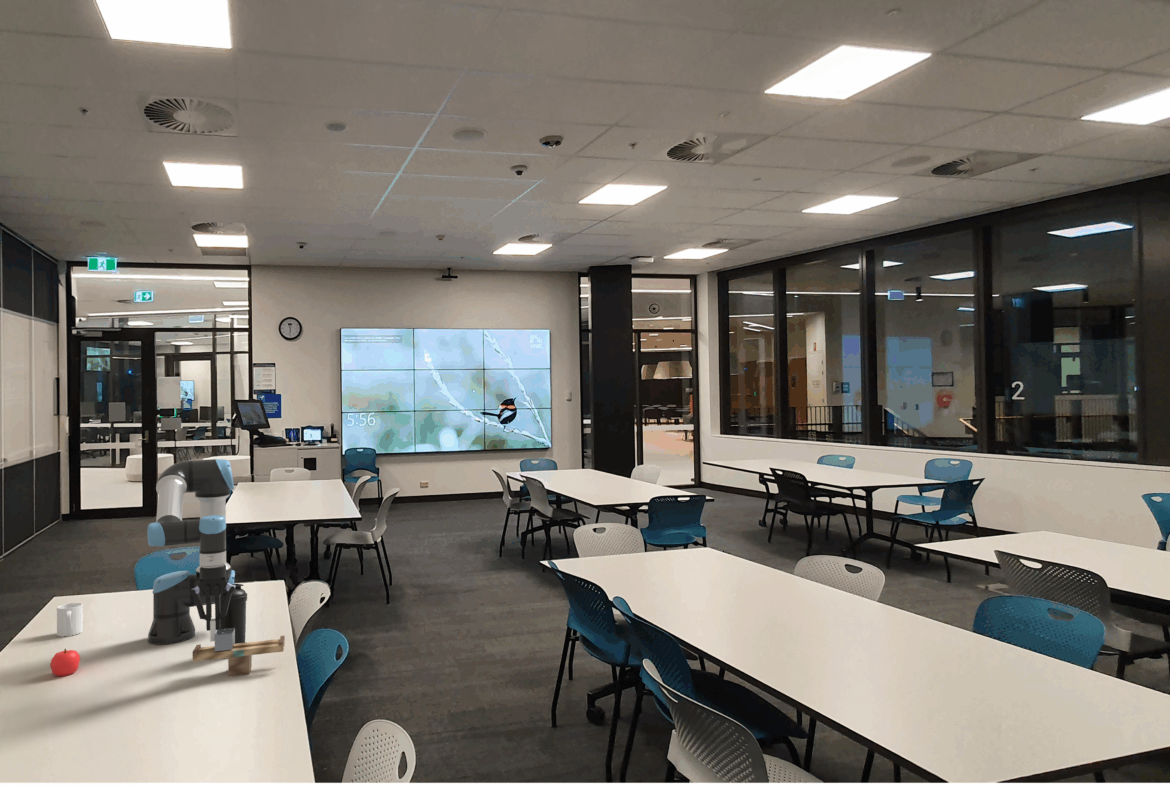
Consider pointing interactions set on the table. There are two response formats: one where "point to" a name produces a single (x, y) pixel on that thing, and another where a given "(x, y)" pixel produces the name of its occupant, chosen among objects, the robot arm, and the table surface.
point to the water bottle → (235, 612)
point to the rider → (224, 639)
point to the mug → (69, 619)
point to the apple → (65, 662)
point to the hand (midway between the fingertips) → (213, 640)
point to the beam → (239, 654)
